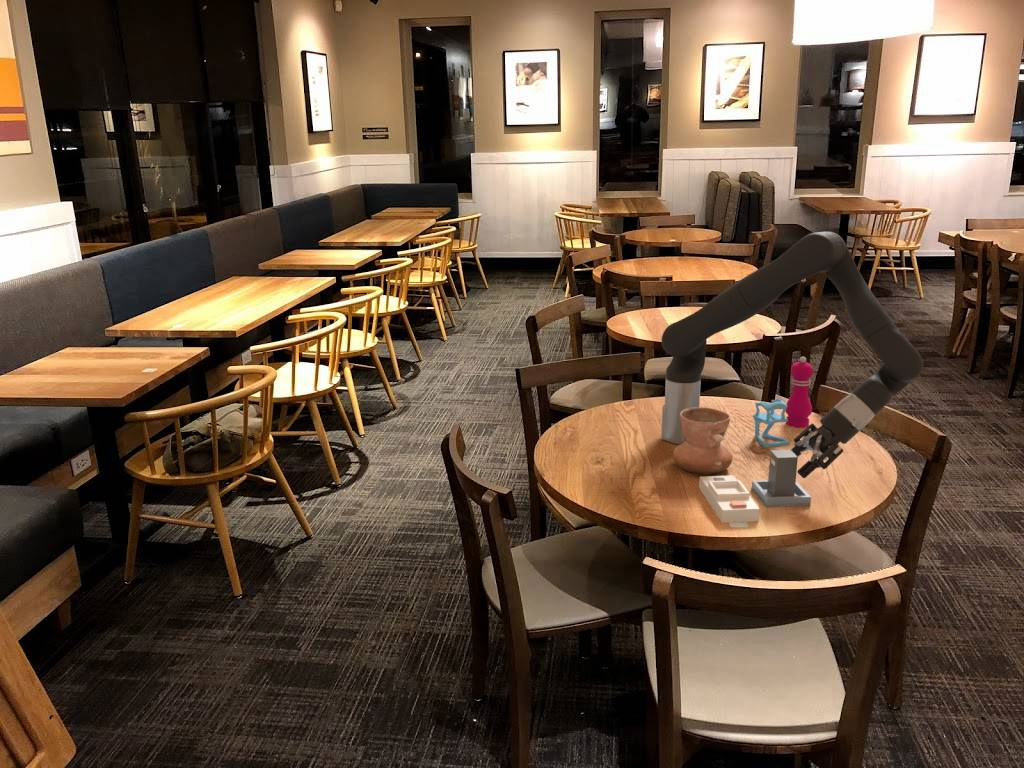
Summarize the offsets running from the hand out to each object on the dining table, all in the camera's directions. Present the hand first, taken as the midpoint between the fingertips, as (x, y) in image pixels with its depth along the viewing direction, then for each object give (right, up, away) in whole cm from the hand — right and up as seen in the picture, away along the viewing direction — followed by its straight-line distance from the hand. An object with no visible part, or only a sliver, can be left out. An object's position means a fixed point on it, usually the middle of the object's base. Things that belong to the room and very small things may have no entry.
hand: (793, 468), depth 185 cm
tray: (-2, -7, +2) cm, 8 cm away
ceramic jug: (-16, -2, +20) cm, 26 cm away
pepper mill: (+18, +7, +48) cm, 52 cm away
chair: (+6, +3, +36) cm, 37 cm away
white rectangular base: (-15, -8, -1) cm, 17 cm away
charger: (-2, -6, +2) cm, 7 cm away
